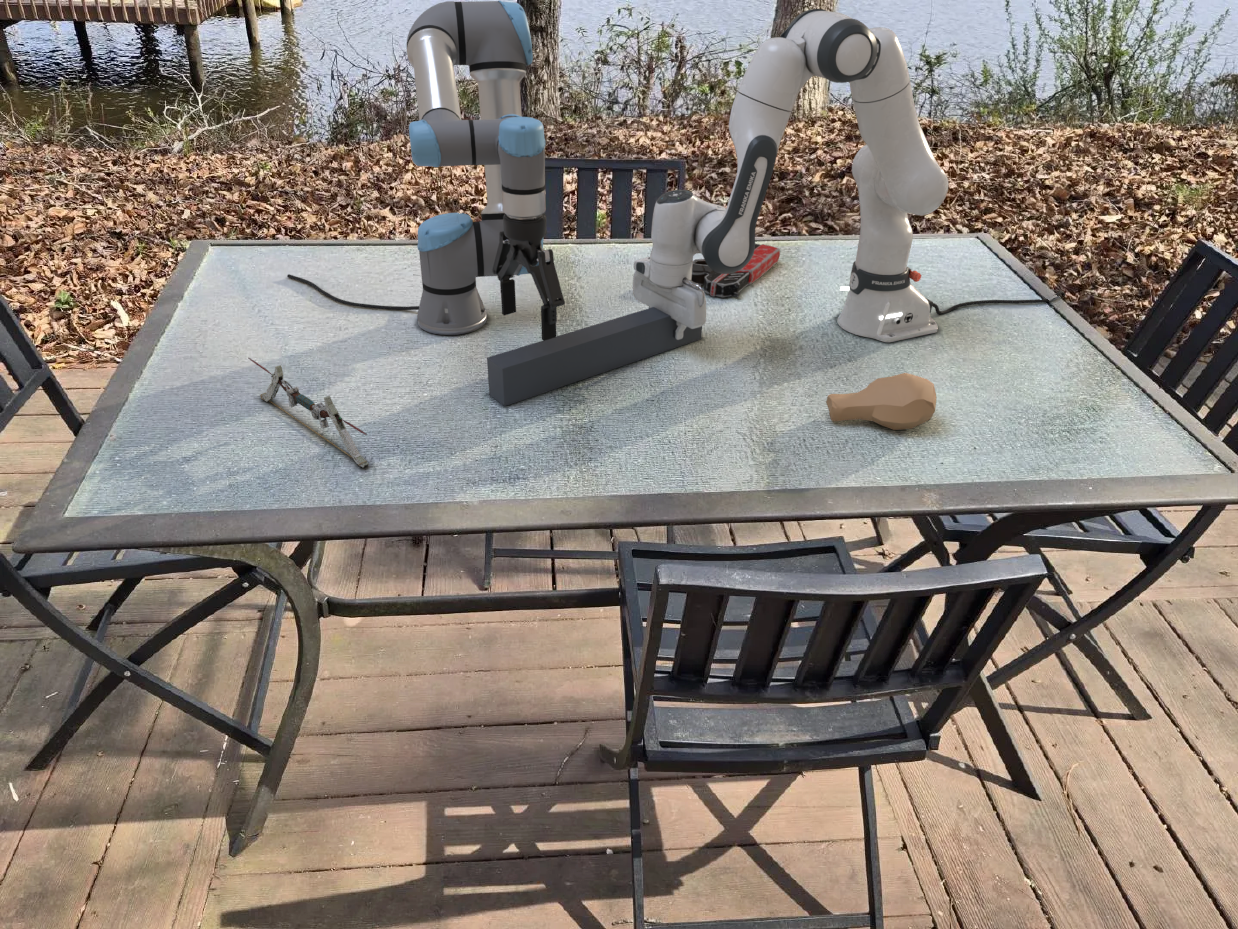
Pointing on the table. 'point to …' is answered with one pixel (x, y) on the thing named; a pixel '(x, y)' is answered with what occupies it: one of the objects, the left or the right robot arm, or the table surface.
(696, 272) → the gun
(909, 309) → the right robot arm
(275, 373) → the bow
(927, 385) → the squash
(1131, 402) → the table surface
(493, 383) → the beam
